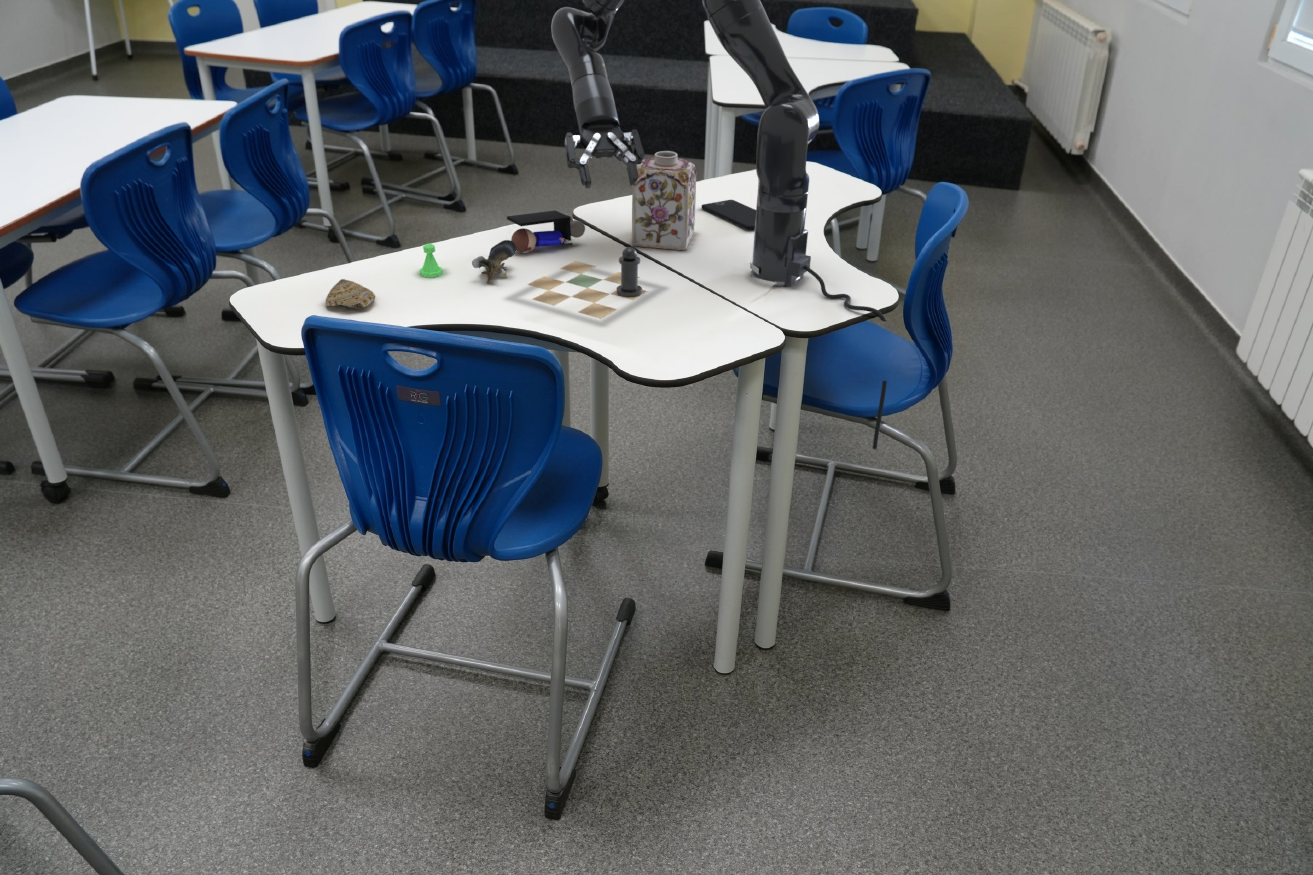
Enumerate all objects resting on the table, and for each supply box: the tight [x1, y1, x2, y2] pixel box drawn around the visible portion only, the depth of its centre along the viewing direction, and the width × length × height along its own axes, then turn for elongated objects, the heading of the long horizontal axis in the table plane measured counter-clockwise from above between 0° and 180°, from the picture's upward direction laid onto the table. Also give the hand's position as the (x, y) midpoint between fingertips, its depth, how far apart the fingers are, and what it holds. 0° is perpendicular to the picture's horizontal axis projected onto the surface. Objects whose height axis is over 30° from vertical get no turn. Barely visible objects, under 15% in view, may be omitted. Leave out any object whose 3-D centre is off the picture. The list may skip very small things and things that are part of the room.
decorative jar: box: [631, 150, 698, 251], centre depth 200 cm, size 12×12×18 cm
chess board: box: [527, 260, 649, 320], centre depth 179 cm, size 20×20×1 cm
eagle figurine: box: [471, 239, 517, 285], centre depth 184 cm, size 8×7×9 cm
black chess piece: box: [616, 246, 643, 298], centre depth 175 cm, size 5×5×8 cm
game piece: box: [419, 242, 444, 279], centre depth 184 cm, size 4×4×6 cm
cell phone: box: [701, 199, 756, 231], centre depth 219 cm, size 9×18×1 cm, turn 33°
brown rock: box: [325, 278, 377, 310], centre depth 171 cm, size 8×6×8 cm
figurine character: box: [506, 209, 586, 254], centre depth 198 cm, size 7×8×15 cm
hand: (611, 184), depth 179 cm, fingers open, 8 cm apart
